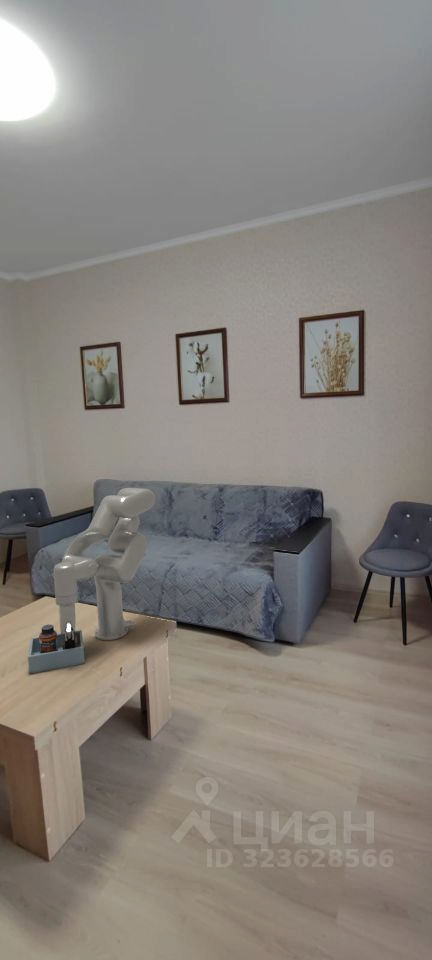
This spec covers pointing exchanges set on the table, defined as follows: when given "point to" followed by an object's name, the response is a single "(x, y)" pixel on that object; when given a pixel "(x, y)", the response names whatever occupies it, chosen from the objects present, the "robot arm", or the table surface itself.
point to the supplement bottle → (48, 639)
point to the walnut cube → (64, 643)
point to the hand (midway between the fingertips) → (70, 644)
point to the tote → (55, 655)
